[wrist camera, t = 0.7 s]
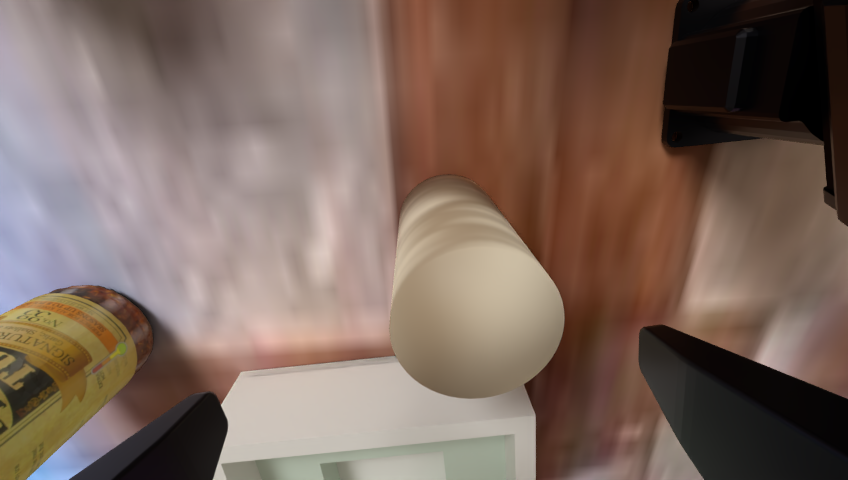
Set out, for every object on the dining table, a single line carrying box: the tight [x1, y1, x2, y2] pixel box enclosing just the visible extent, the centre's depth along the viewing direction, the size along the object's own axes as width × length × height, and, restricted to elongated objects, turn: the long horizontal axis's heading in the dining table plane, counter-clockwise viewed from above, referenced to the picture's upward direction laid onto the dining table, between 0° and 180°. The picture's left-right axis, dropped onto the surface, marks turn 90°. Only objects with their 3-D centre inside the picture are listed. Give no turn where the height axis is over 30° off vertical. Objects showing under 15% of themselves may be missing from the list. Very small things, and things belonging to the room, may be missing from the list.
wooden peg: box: [389, 174, 565, 399], centre depth 16 cm, size 5×5×10 cm
